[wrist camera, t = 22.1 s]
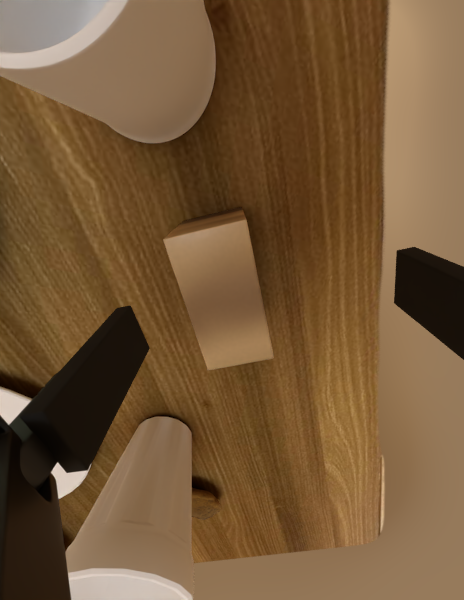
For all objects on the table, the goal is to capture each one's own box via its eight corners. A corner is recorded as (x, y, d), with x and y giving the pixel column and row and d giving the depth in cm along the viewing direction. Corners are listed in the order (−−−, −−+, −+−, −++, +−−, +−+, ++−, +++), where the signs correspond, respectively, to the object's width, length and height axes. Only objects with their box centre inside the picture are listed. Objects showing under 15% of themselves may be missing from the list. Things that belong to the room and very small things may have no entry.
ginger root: (129, 494, 34) (118, 528, 31) (178, 460, 31) (172, 494, 28) (185, 522, 37) (181, 555, 34) (234, 494, 34) (235, 527, 31)
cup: (226, 425, 29) (222, 597, 17) (181, 470, 32) (151, 640, 20) (145, 386, 26) (75, 556, 14) (106, 440, 30) (23, 612, 18)
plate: (-60, 334, 24) (-84, 347, 22) (126, 427, 29) (119, 443, 27) (-103, 443, 30) (-125, 459, 28) (56, 502, 35) (46, 520, 33)
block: (183, 220, 19) (162, 239, 13) (241, 206, 19) (246, 219, 13) (213, 322, 23) (207, 370, 17) (262, 311, 23) (274, 358, 17)
